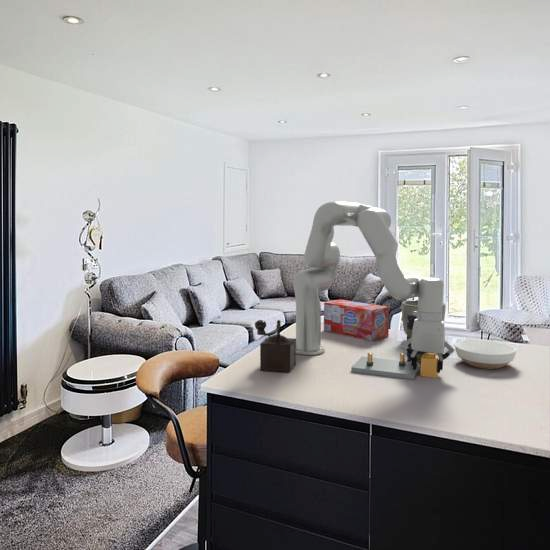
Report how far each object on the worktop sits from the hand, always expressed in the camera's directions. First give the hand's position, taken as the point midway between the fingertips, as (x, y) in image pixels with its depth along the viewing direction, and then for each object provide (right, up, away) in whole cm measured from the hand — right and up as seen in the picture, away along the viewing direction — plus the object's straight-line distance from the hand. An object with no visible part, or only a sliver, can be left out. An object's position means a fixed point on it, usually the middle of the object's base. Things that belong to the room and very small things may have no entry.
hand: (426, 369), depth 156 cm
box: (-14, +4, +57) cm, 59 cm away
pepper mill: (-49, -1, +6) cm, 50 cm away
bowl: (+24, 0, +11) cm, 26 cm away
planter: (+12, +3, +43) cm, 45 cm away
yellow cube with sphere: (+1, -2, 0) cm, 2 cm away
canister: (+2, 0, +16) cm, 16 cm away
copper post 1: (-17, -1, +6) cm, 18 cm away
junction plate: (-12, -1, +6) cm, 13 cm away
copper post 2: (-7, -1, +5) cm, 9 cm away
